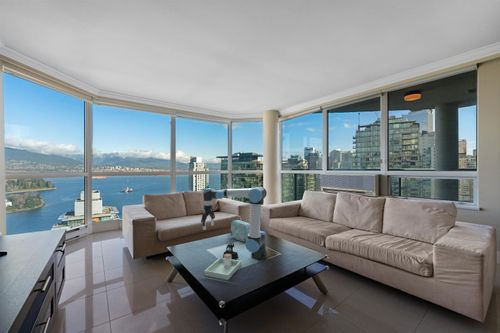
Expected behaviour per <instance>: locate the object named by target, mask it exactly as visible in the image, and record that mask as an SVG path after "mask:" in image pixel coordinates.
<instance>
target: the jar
mask: <svg viewBox="0 0 500 333" xmlns="http://www.w3.org/2000/svg"><path fill="white" fill-rule="evenodd" d="M231 256H232V255H231V254H225V255H224V267H226V268H229V267H231Z"/></svg>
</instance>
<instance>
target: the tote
mask: <svg viewBox="0 0 500 333" xmlns="http://www.w3.org/2000/svg"><path fill="white" fill-rule="evenodd" d="M241 266H242V260H237V259H236V260H233V259H231V267H229V268H226V267H224V258H223V257H219V258H217V259H216V260H215V261H214V262H213V263H212V264H210V265H209V266H208V267H207V268H205V269H204V271H203V272H204V273H203V274H204V277H206V278H208V277H209V278H211V279H214V280H215V279H216V280H217V279H218V280H219V281H222V280H223V281H224V282H227V281H229V280H230V278H232V276H233V275H234V274H235V273H236V272H237V271H238V270H239V269H240V267H241Z"/></svg>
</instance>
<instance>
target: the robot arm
mask: <svg viewBox="0 0 500 333" xmlns="http://www.w3.org/2000/svg"><path fill="white" fill-rule="evenodd" d="M267 192H268V191H267V189H266V188H265V187H264V186H256V187H252V188H222V189H218V190H212V188H210V187H209V188H208V187H207V188H203V211H202V216H201V220H200V223H202V231H203V230H204V231H206V230H207V223H206V220H207V219H208V216H209V217H210V226H213V227H214V226H215V225H214V224H215V222H214V220H215V218H216V216H215V213H214V209H213V205H212V204H213V199H214V200H222V199H224V198H237V197H238V198H248V200H249V205H250V218H249V220H250V221H249V224H250V233H249V234H248V238H247V241H245V242H244V243H245V244H244V245H245V248H246V250H247V251H248V252H250V257H251V258H252V259H253V260H258V261H263V260H266V259H267V258H268V257H269V254H268V250H267V247H266V244H267V242H266V239H267V238H266V232H265V231H263V230H261V215H262V206H263V204H264V199H265V198H266V197H267V194H268V193H267Z"/></svg>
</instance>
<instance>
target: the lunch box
mask: <svg viewBox="0 0 500 333" xmlns="http://www.w3.org/2000/svg"><path fill="white" fill-rule="evenodd" d="M249 233H250V222H246V221H242V220H239V219H235V220H232V221H231V223H230V235H231V238H232V239H234V240H236V241H240V242H244V243H246V241H247V238H248V234H249Z"/></svg>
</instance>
